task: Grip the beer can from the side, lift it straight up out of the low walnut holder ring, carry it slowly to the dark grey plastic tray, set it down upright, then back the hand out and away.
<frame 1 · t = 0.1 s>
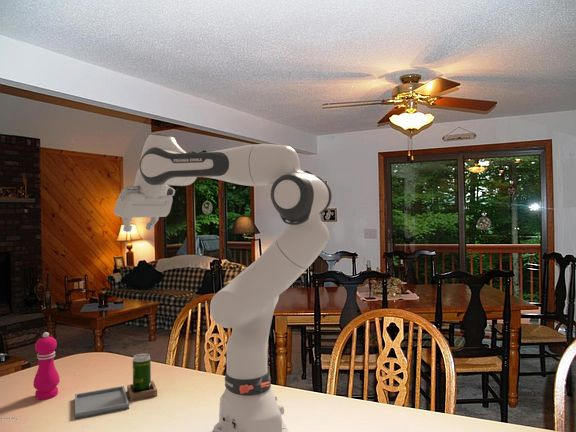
hand: (138, 230, 134), 52 cm above the counter, tool tilted 20°, fingers open, 8 cm apart
tray: (101, 403, 133), on the counter
pepper mill: (46, 396, 138), on the counter
beer can: (142, 394, 140), resting in can holder
can holder: (142, 393, 140), on the counter
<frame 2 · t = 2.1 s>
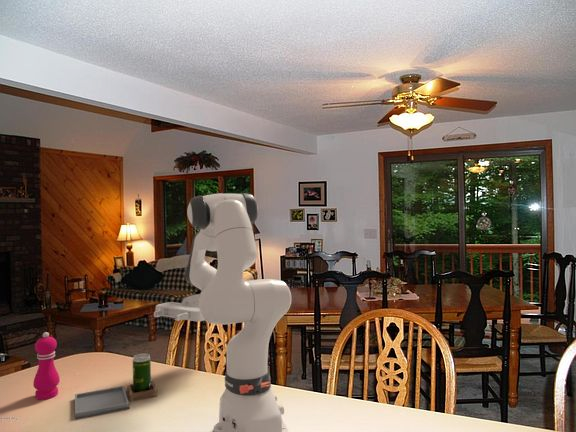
hand: (165, 316, 149), 22 cm above the counter, tool horizontal, fingers open, 8 cm apart
nothing on the counter moved.
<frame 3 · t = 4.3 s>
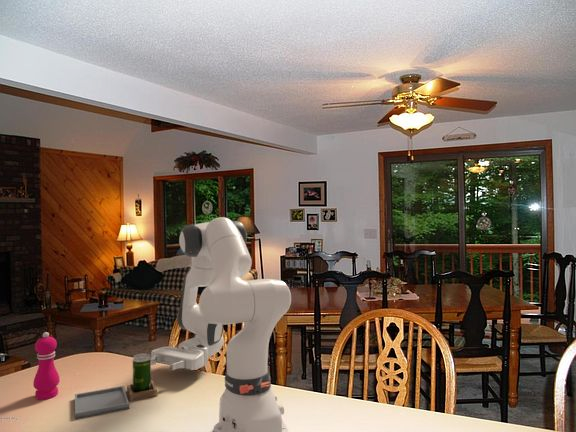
hand: (160, 364, 147), 6 cm above the counter, tool horizontal, fingers open, 8 cm apart
nothing on the counter moved.
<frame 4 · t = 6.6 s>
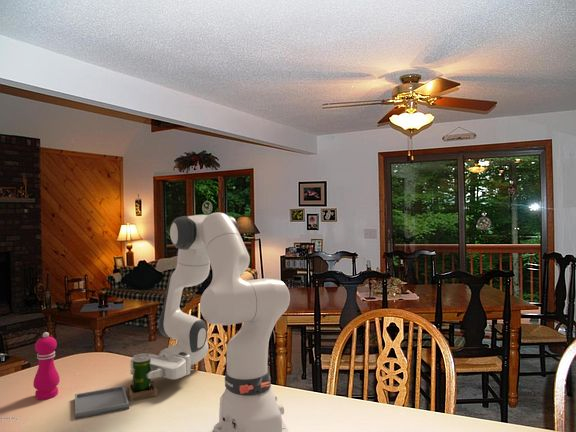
hand: (139, 374, 139), 7 cm above the counter, tool horizontal, fingers closed on beer can, 5 cm apart
beer can: (142, 394, 140), resting in can holder, touching gripper
everything else where it was.
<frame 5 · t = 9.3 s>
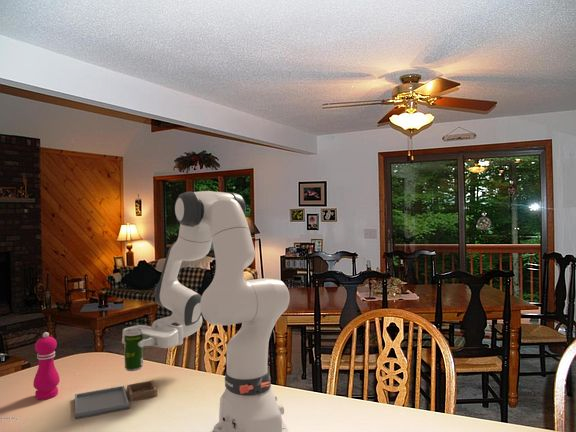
hand: (131, 342, 137), 17 cm above the counter, tool horizontal, fingers closed on beer can, 5 cm apart
beer can: (133, 368, 138), point 8 cm above the counter, touching gripper
everything else where it was.
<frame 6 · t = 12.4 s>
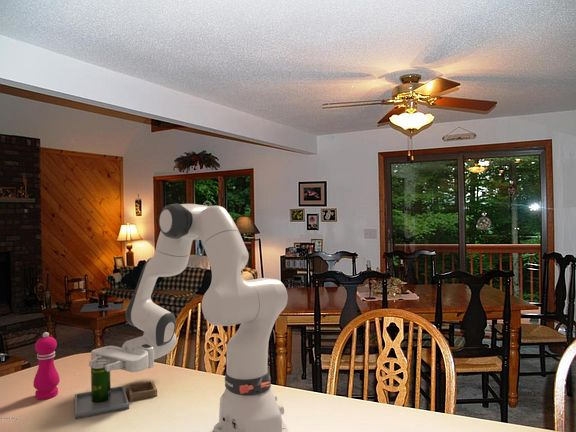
hand: (97, 366, 132), 12 cm above the counter, tool horizontal, fingers closed on beer can, 5 cm apart
beer can: (101, 402, 133), resting on tray, touching gripper
everything else where it was.
when the fingers open (9 cm above the counter, at t = 14.1 s): beer can stays where it is, resting on tray.
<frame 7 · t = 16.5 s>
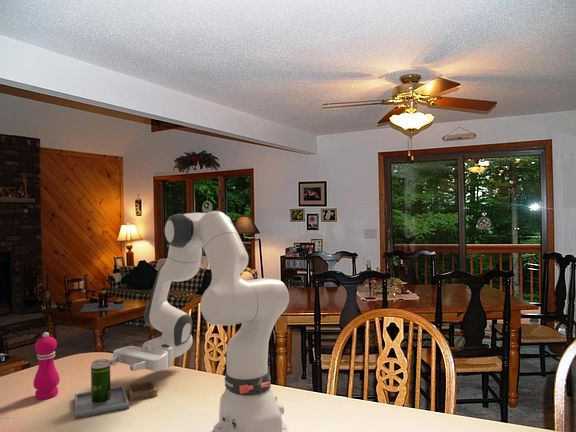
hand: (121, 365, 139), 9 cm above the counter, tool horizontal, fingers open, 8 cm apart
beer can: (101, 402, 133), resting on tray
everything else where it was.
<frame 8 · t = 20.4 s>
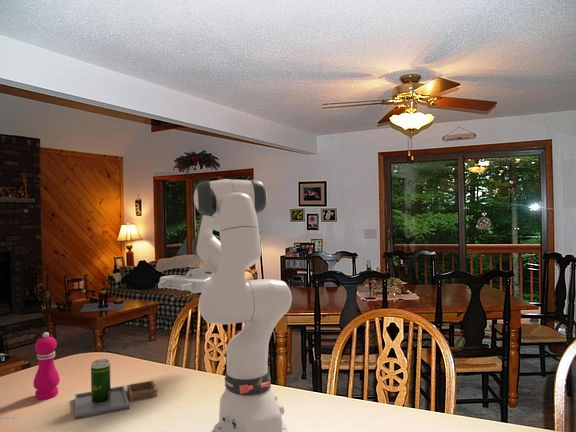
hand: (169, 286, 149), 32 cm above the counter, tool horizontal, fingers open, 8 cm apart
nothing on the counter moved.
at the end: beer can inside the target area on the tray (0.2 cm from its centre), point 0.4 cm above the tray's base; beer can tilted 0°; the gripper is holding nothing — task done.
